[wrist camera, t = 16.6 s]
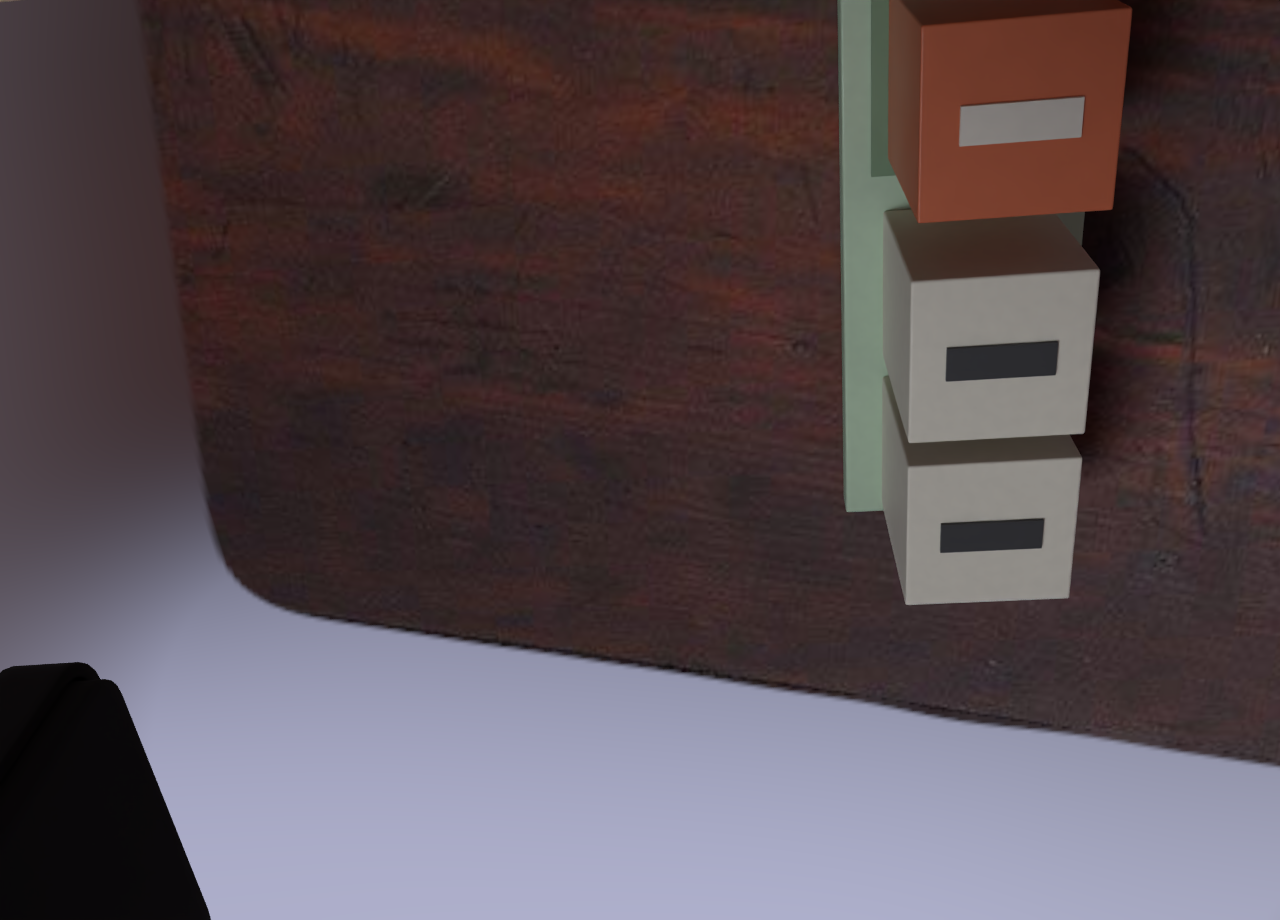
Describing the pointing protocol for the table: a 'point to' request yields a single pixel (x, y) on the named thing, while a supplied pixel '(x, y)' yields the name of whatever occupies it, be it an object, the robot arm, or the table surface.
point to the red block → (1006, 105)
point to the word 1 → (956, 364)
